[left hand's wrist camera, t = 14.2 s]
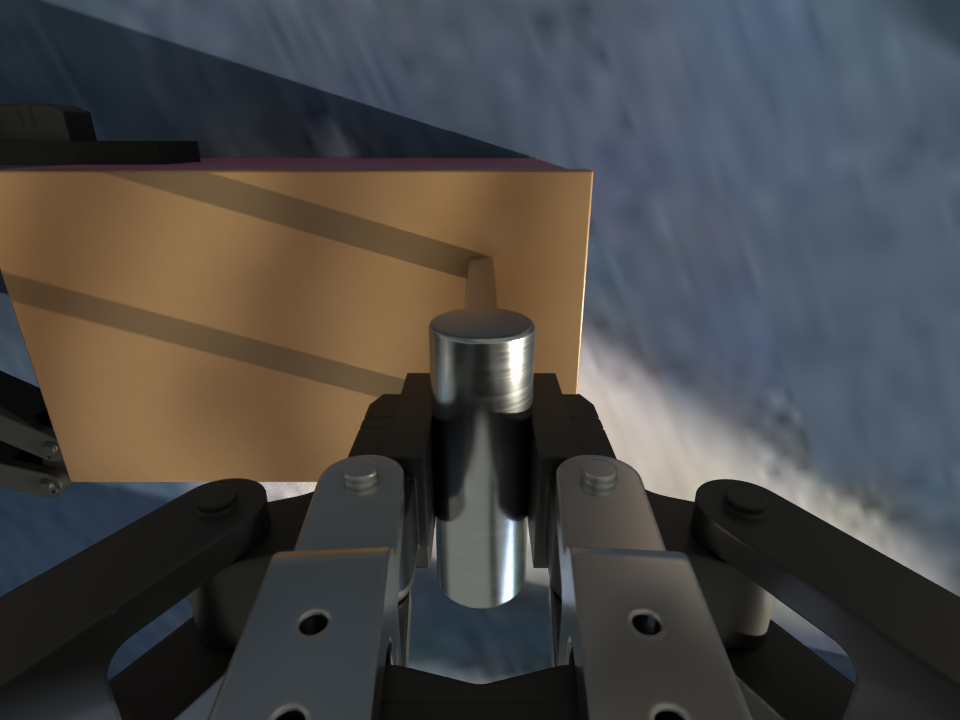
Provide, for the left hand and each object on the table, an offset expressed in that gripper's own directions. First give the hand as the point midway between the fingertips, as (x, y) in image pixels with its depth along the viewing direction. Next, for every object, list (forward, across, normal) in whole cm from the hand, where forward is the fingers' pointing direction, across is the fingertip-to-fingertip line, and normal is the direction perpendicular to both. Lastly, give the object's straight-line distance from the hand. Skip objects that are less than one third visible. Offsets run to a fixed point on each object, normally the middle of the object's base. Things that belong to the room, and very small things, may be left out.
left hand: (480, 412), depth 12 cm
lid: (+5, +5, 0) cm, 8 cm away
